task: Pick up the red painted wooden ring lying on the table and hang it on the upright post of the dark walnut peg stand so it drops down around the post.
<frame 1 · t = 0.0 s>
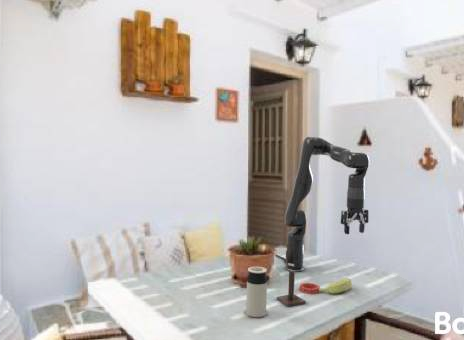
hand: (354, 233, 173), 29 cm above the table, tool pointing down, fingers open, 8 cm apart
peg stand: (290, 301, 168), on the table
travel mug: (256, 314, 154), on the table
ring: (309, 290, 183), on the table
banana: (335, 289, 185), on the table
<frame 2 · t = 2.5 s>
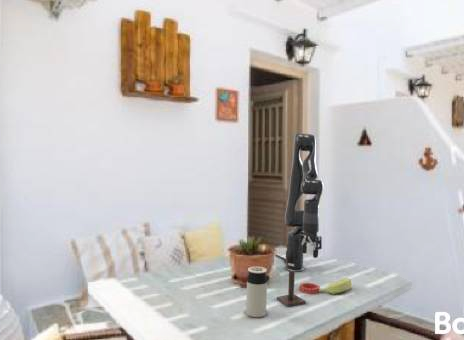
hand: (309, 255, 184), 16 cm above the table, tool pointing down, fingers open, 8 cm apart
nothing on the table moved.
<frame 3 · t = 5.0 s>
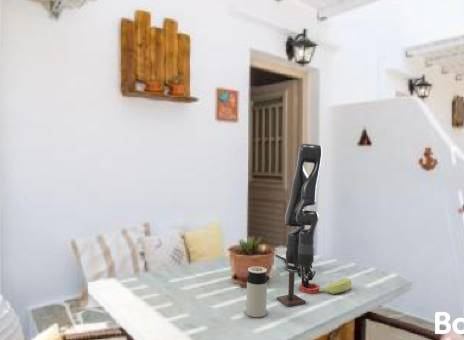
hand: (304, 287, 186), 0 cm above the table, tool pointing down, fingers closed on ring, 1 cm apart
ring: (309, 290, 183), on the table, touching gripper
everything else where it was.
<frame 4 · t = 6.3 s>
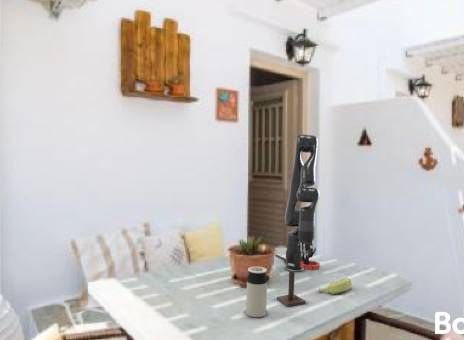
hand: (305, 264, 186), 11 cm above the table, tool pointing down, fingers closed on ring, 1 cm apart
ring: (309, 267, 182), point 11 cm above the table, touching gripper
everything else where it was.
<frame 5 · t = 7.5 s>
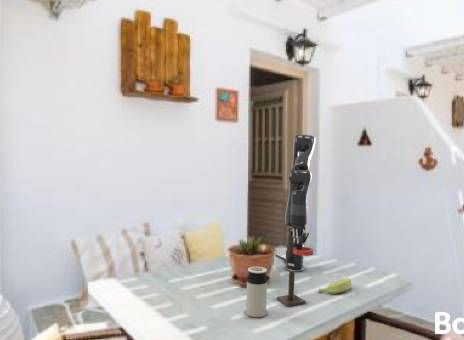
hand: (297, 251, 177), 20 cm above the table, tool pointing down, fingers closed on ring, 1 cm apart
ring: (303, 253, 174), point 20 cm above the table, touching gripper
everything else where it was.
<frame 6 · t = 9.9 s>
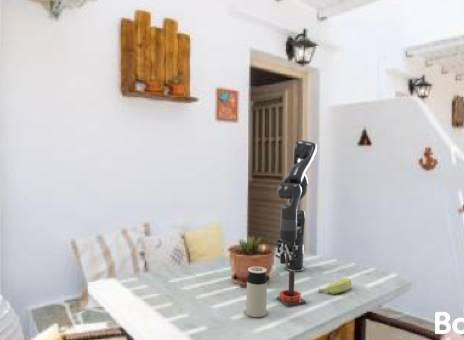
hand: (287, 265, 171), 15 cm above the table, tool pointing down, fingers open, 6 cm apart
ring: (290, 298, 169), point 1 cm above the table, touching peg stand
everything else where it was.
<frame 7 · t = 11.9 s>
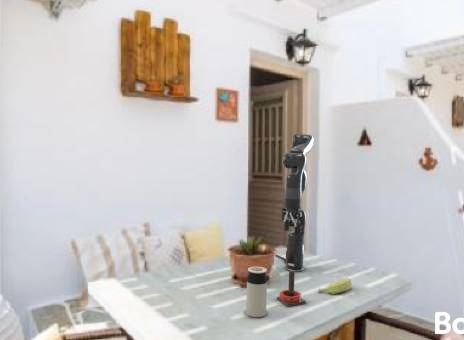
hand: (291, 232, 176), 28 cm above the table, tool pointing down, fingers open, 8 cm apart
nothing on the table moved.
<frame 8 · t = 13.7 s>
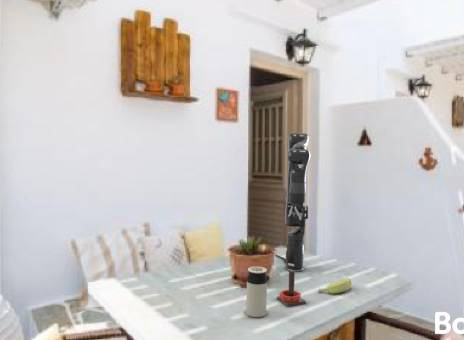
hand: (296, 226, 182), 30 cm above the table, tool pointing down, fingers open, 8 cm apart
nothing on the table moved.
at the end: ring 0.9 cm off-centre on the peg stand, point 1.2 cm above the peg stand's base; the gripper is holding nothing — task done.
